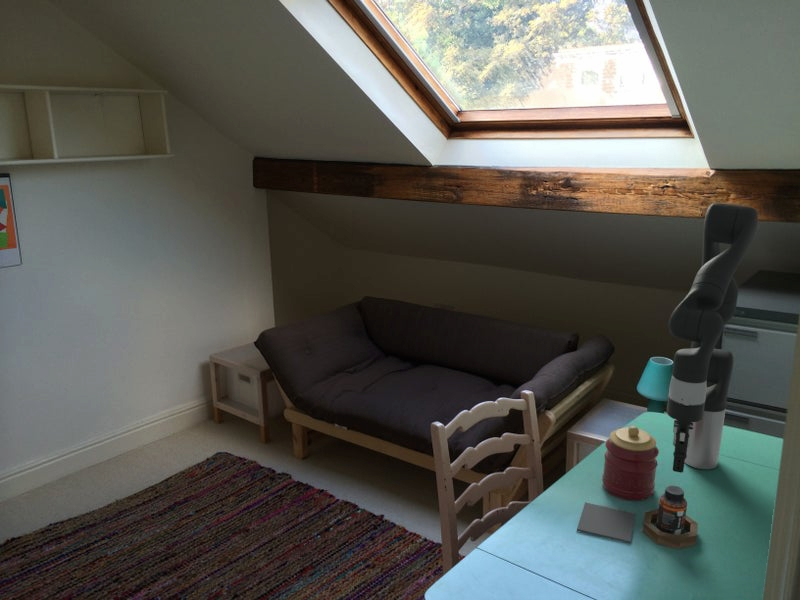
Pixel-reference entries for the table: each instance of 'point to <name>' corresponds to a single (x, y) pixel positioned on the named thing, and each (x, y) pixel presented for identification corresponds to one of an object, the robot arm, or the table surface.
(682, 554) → the table surface
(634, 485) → the canister
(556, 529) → the table surface
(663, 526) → the supplement bottle
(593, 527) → the coaster
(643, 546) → the table surface
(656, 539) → the collar
